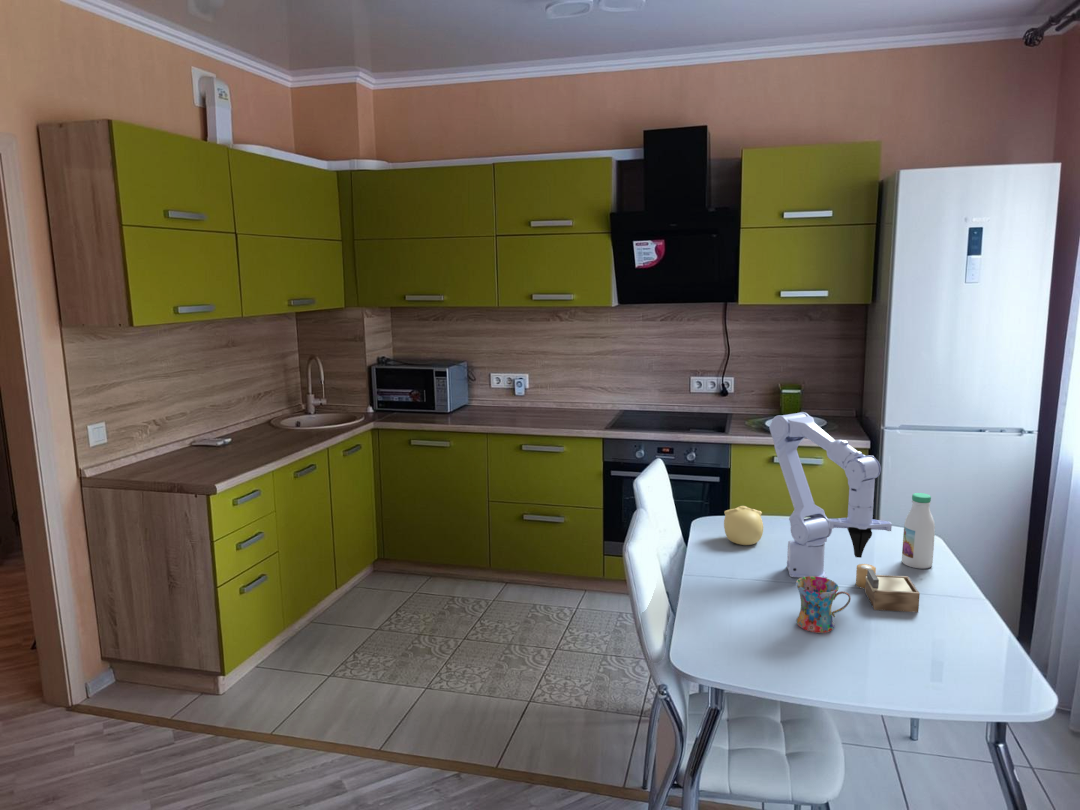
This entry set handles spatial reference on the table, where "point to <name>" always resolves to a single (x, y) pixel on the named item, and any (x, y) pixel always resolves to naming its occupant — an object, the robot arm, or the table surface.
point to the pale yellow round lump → (743, 525)
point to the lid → (886, 583)
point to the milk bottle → (919, 533)
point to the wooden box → (894, 597)
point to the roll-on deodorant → (863, 574)
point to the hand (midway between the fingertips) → (857, 556)
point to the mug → (817, 603)
